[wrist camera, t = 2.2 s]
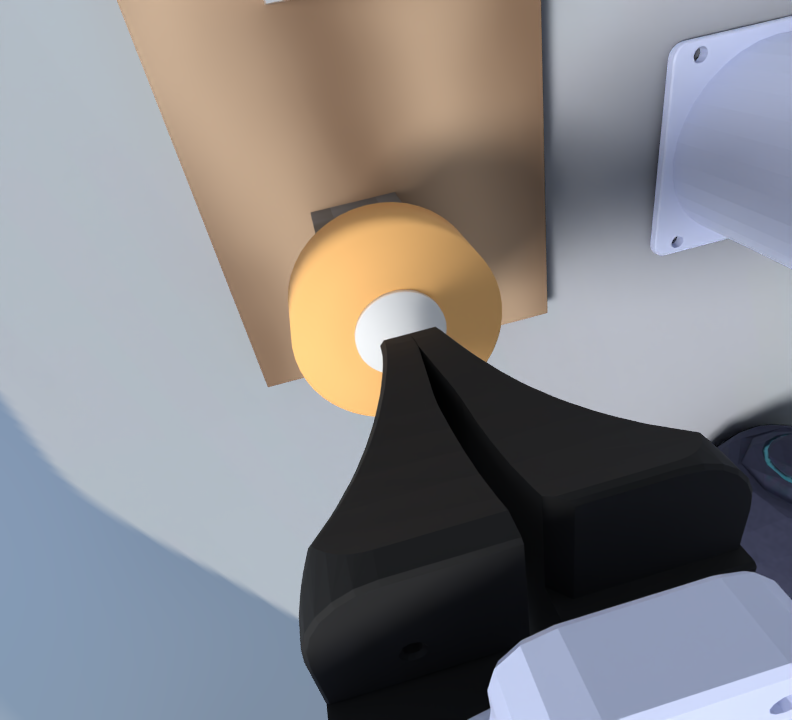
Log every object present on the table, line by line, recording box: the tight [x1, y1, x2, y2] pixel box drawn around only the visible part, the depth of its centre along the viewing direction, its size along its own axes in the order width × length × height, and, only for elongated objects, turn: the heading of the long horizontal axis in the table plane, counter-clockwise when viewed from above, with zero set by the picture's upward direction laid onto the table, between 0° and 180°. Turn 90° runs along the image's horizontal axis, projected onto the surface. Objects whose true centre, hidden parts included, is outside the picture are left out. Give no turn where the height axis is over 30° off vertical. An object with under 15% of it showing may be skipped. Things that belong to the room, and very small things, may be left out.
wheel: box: [288, 202, 502, 416], centre depth 16 cm, size 6×6×5 cm
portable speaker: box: [717, 425, 792, 600], centre depth 33 cm, size 25×10×10 cm, turn 177°
